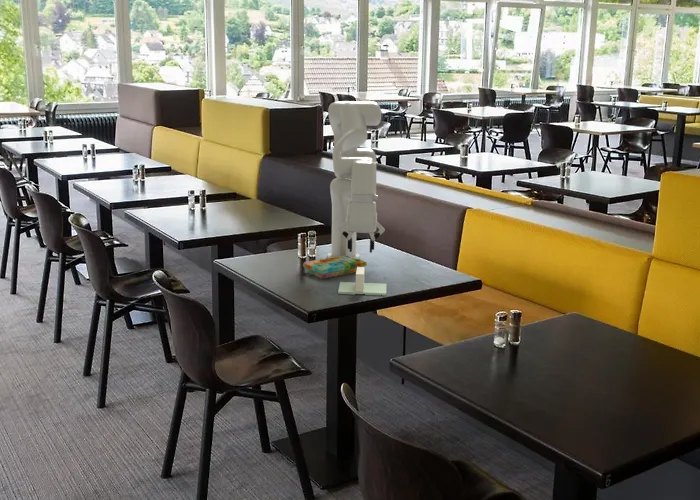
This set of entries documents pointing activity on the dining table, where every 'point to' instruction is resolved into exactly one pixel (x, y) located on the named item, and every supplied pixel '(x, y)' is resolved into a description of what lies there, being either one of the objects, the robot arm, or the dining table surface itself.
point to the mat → (368, 288)
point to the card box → (360, 279)
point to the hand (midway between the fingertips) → (360, 250)
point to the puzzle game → (333, 266)
